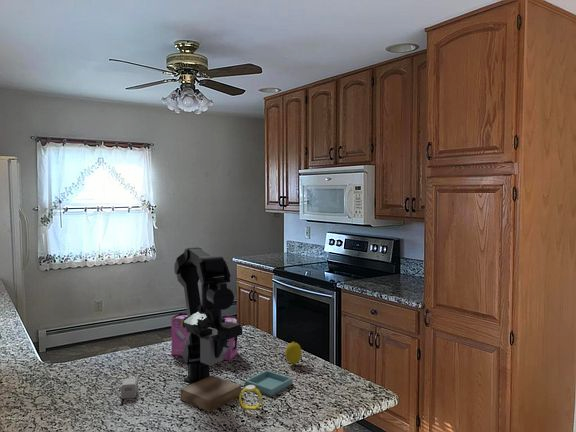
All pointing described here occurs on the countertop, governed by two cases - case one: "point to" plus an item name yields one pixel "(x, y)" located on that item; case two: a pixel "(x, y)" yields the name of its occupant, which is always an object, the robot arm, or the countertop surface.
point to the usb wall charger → (129, 388)
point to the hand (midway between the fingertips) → (211, 355)
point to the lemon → (293, 353)
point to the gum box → (181, 334)
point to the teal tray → (269, 382)
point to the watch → (249, 389)
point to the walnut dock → (210, 393)
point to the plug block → (208, 351)
